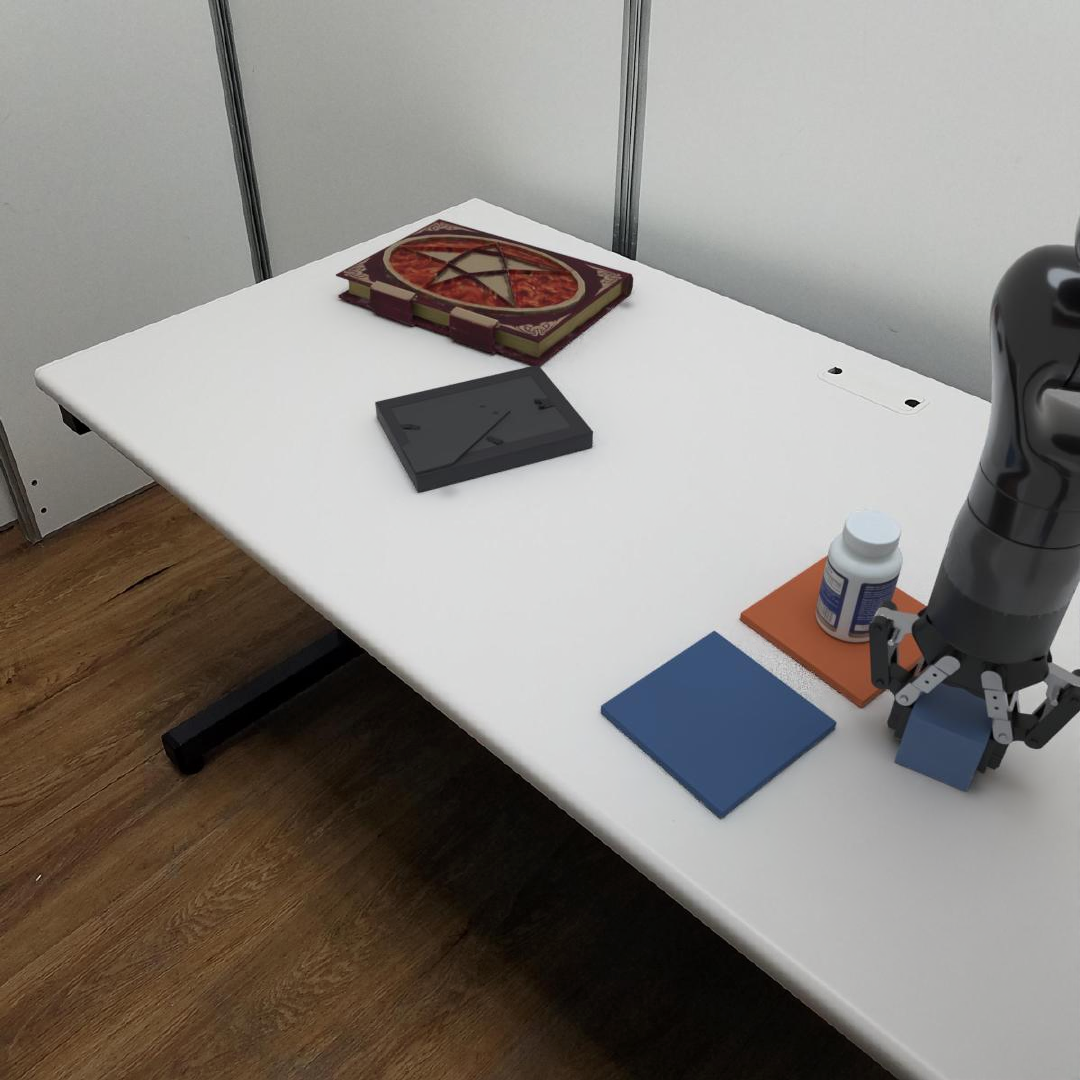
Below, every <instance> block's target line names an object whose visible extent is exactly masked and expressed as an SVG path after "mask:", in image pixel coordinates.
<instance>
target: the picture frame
mask: <svg viewBox="0 0 1080 1080" xmlns="http://www.w3.org/2000/svg"><path fill="white" fill-rule="evenodd" d="M374 405H375V406H374V407H375V412H376V413H375V414H376V419H377V420H378V422H379V424H380V426H381V428H382V430H383V432H384V433H385V435H386V437H387V439H388V440H389V443H390V444H391V446H392V448H393V450H394V452H395V453H396V455H397V457H398V459H399V461H400V463H401V464H402V467H403V468H404V470H405V472H406V474H407V475H408V477H409V479H410V481H411V482H412V485H413V486H414V487H415V489H416V492H417V493H421V492H426V491H429V490H434V489H437V488H442V487H445V486H448V485H449V486H450V485H453V484H457V483H461V482H465V481H468V480H472V479H475V478H479V477H484V476H488V475H490V474H495V473H498V472H502V471H506V470H511V469H514V468H518V467H522V466H525V465H529V464H533V463H536V462H537V463H538V462H540V461H545V460H548V459H552V458H553V459H554V458H556V457H561V456H564V455H567V454H571V453H575V452H580V451H584V450H587V449H590V448H593V445H594V444H593V443H594V431H593V429H592V428H591V427H590V426H589V424H588V423H587V422H586V421H585V420H584V418H583V417H582V416H581V414H579V412H578V411H577V410H576V408H575V407H573V405H572V404H571V402H570V401H569V400H568V398H566V397H565V395H564V394H563V393H562V392H561V390H560V389H559V387H557V385H556V384H555V383H554V382H553V380H552V379H551V378H550V377H549V376H548V375H547V373H546V372H545V370H543V369H542V367H541V366H540V365H531V366H526V367H522V368H518V369H513V370H509V371H504V372H500V373H495V374H491V375H487V376H482V377H479V378H478V377H477V378H473V379H470V380H465V381H461V382H457V383H456V382H455V383H452V384H447V385H443V386H439V387H435V388H430V389H426V390H422V391H421V390H420V391H417V392H412V393H409V394H404V395H400V396H395V397H391V398H386V399H381V400H378V401H374Z"/></svg>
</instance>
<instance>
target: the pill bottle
mask: <svg viewBox="0 0 1080 1080" xmlns="http://www.w3.org/2000/svg"><path fill="white" fill-rule="evenodd" d="M901 535H902V528H901V525H900V523H899V522H898V521H897V520H896V518H894V517H893V516H891V515H890V514H888V513H886V512H884V511H880V510H876V509H860V510H856V511H853V512H851V513H850V514H849V515H848V516H847V518H846V519H845V522H844V526H843V528H842V532H841V533H840V534H838V535H837V536H836V537H834V539H833V540H832V541H831V543H830V545H829V548H828V551H827V555H828V556H827V555H826V556H827V560H826V565H825V569H824V574H823V578H822V583H821V587H820V592H819V596H818V601H817V607H816V619H817V621H818V623H819V625H820V626H821V627H822V628H823V629H824V631H826V632H827V633H828V634H830V635H831V636H833V637H835V638H838V639H840V640H843V641H847V642H866V641H869V625H870V623H871V621H872V619H873V617H874V615H875V613H876V611H877V609H878V607H879V605H880V603H881V602H882V601H885V600H888V601H892V599H893V595H894V592H895V588H896V587H897V584H898V581H899V578H900V574H901V571H902V567H903V562H904V558H903V553H902V551H901V549H900V547H899V543H900V538H901Z"/></svg>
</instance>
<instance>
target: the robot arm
mask: <svg viewBox="0 0 1080 1080" xmlns="http://www.w3.org/2000/svg"><path fill="white" fill-rule="evenodd" d="M989 346H990V347H989V348H990V349H989V350H990V369H991V403H990V404H991V405H990V414H989V419H988V420H989V421H988V427H987V433H986V436H985V440H984V444H983V448H982V450H981V454H980V457H979V460H978V464H977V466H976V470H975V473H974V475H973V478H972V481H971V484H970V488H969V491H968V494H967V496H966V498H965V500H964V503H963V504H962V506H961V508H960V509H959V511H958V514H957V516H956V518H955V521H954V523H953V526H952V529H951V531H950V533H949V537H948V541H947V543H946V547H945V550H944V553H943V557H942V559H941V563H940V564H939V569H938V572H937V575H936V578H935V581H934V584H933V588H932V590H931V593H930V596H929V600H928V603H927V605H925V606H926V607H925V608H924V609H922V610H921V611H919V613H918V614H917V615H916V614H911V613H905V612H899V611H898V608H897V606H896V604H895V603H893V602H892V601H888V600H885V601H882V602H881V603H880V605H879V607H878V609H877V611H876V613H875V615H874V617H873V619H872V621H871V623H870V625H869V644H870V665H871V682H872V684H873V686H875V687H876V688H878V689H882V690H883V691H885V690H888V691H889V692H890V693H892V695H893V697H894V700H893V703H892V706H891V709H890V712H889V716H888V719H887V726H888V729H891V730H894V733H893V737H892V738H895V739H896V740H899V741H901V740H902V737H903V734H904V731H905V728H906V725H907V723H908V720H909V717H910V714H911V712H912V709H913V707H914V705H915V702H916V700H917V699H918V698H919V697H921V696H922V695H923V694H924V693H925V694H928V693H929V692H930V691H931V690H932V689H934V688H935V687H936V686H937V685H938V684H939V683H942V684H945V685H948V686H950V687H955V688H961V689H964V690H966V691H968V692H969V693H971V694H973V695H975V696H977V697H980V698H982V699H985V700H986V706H987V713H988V718H989V719H991V724H992V730H991V733H990V736H989V739H988V742H987V745H986V747H985V750H984V752H983V754H982V757H981V759H980V761H979V764H978V766H977V768H976V771H975V772H978V773H981V774H985V773H986V770H987V769H990V770H994V771H995V770H996V769H998V768H1000V766H1001V763H1002V762H1003V760H1004V757H1005V755H1006V753H1007V750H1008V748H1009V746H1010V745H1011V744H1012V743H1013V742H1023V743H1024V744H1025V746H1026V747H1028V748H1030V749H1032V750H1041V749H1042V748H1044V747H1045V746H1046V745H1047V744H1048V743H1049V742H1050V741H1051V740H1052V739H1053V738H1054V737H1055V736H1056V735H1057V734H1058V733H1059V732H1060V731H1061V730H1062V729H1063V728H1064V727H1066V725H1067V724H1069V722H1070V721H1072V719H1073V718H1074V717H1076V716H1077V715H1078V713H1080V668H1076V669H1074V670H1072V671H1071V672H1070V671H1068V670H1067V669H1065V668H1063V667H1062V666H1060V665H1057V664H1056V663H1054V662H1053V654H1052V652H1051V647H1052V644H1053V642H1054V640H1055V637H1056V636H1057V633H1058V632H1059V628H1060V626H1061V624H1062V623H1063V619H1064V618H1065V615H1066V613H1067V611H1068V608H1069V607H1070V604H1071V602H1072V599H1073V597H1074V594H1075V592H1076V590H1077V588H1078V586H1079V584H1080V406H1079V405H1077V404H1074V403H1072V402H1069V401H1067V400H1065V399H1062V398H1060V397H1058V396H1057V395H1054V394H1052V393H1051V392H1049V391H1047V390H1059V391H1066V392H1071V393H1078V394H1080V215H1078V219H1077V222H1076V227H1075V231H1074V245H1070V244H1069V245H1067V244H1043V245H1040V246H1035V247H1034V248H1031V249H1030V250H1028V251H1026V252H1025V253H1023V254H1022V255H1021V256H1019V257H1017V258H1016V260H1014V261H1013V263H1011V264H1010V265H1009V267H1008V268H1007V269H1006V270H1005V271H1004V273H1003V275H1002V276H1001V278H1000V279H999V281H998V283H997V284H996V287H995V290H994V292H993V296H992V300H991V304H990V312H989ZM908 633H912V636H913V638H914V640H915V642H916V643H917V645H918V647H919V649H920V651H921V653H922V656H921V658H920V659H919V660H918V661H917V662H916V663H915V664H914V665H913V666H912V667H911V668H909V669H908V670H906V669H905V668H903V667H902V666H900V665H899V643H900V642H902V640H903V638H904V636H905V635H906V634H908ZM1042 682H1044V683H1045V684H1046V686H1047V688H1046V691H1045V696H1046V698H1045V699H1044V700H1043V701H1042V702H1041V703H1040V704H1039V705H1038V706H1037V707H1036V709H1034V710H1033V712H1032V713H1024V712H1021V708H1020V707H1021V706H1020V700H1019V692H1020V691H1022V690H1024V689H1026V688H1029V687H1032V686H1035V685H1038V684H1040V683H1042ZM884 689H885V690H884Z"/></svg>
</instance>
